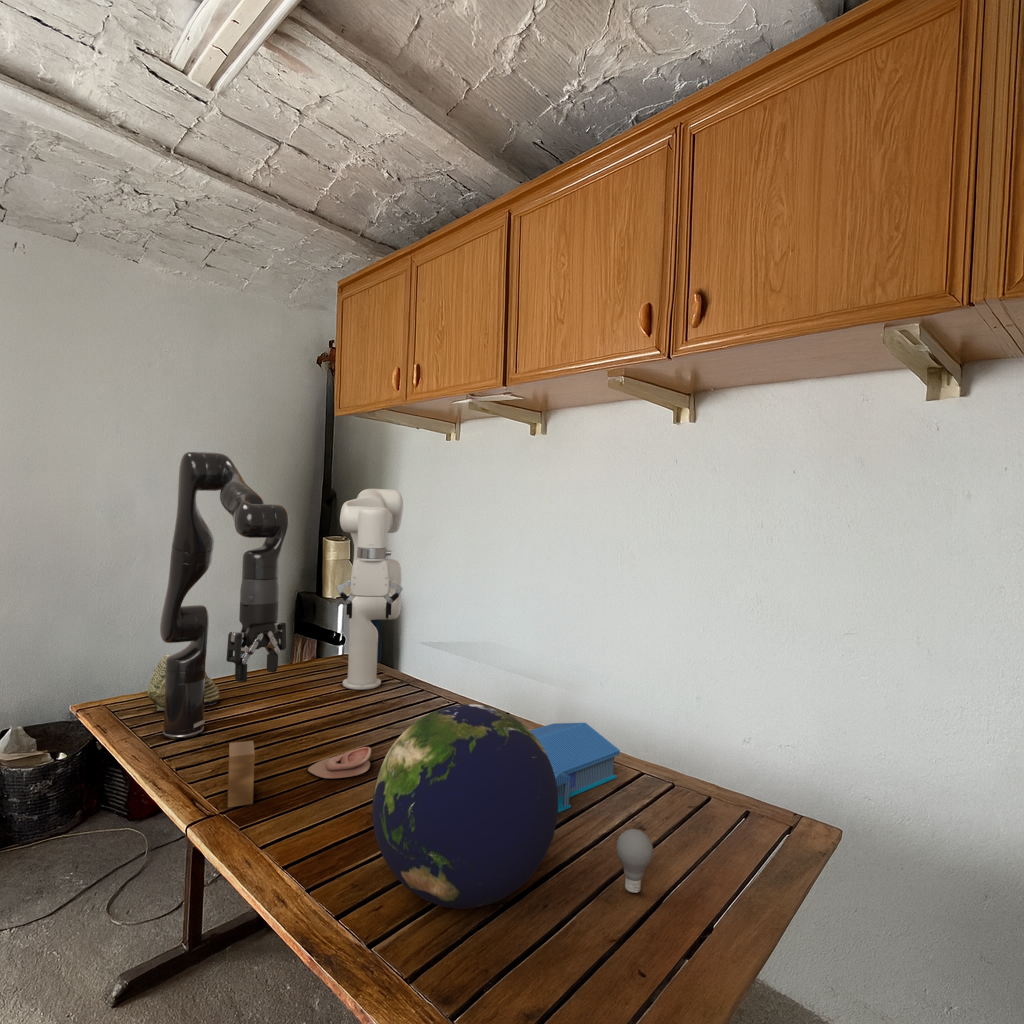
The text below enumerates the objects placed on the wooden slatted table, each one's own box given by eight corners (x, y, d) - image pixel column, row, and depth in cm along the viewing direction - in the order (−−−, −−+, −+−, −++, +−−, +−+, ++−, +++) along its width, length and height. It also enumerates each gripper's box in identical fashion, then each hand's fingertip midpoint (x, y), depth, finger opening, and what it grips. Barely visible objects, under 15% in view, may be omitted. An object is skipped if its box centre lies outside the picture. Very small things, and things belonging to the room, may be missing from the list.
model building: (501, 837, 120) (504, 785, 120) (427, 790, 139) (429, 744, 138) (628, 782, 147) (630, 739, 147) (552, 748, 165) (553, 710, 165)
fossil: (144, 707, 182) (145, 655, 182) (212, 696, 194) (213, 647, 194) (151, 716, 175) (153, 662, 175) (221, 703, 188) (223, 653, 188)
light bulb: (610, 879, 108) (613, 822, 108) (644, 879, 109) (647, 822, 109) (619, 902, 102) (622, 840, 102) (655, 901, 103) (658, 840, 103)
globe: (328, 919, 95) (336, 721, 95) (427, 827, 123) (434, 674, 122) (512, 985, 84) (522, 760, 83) (576, 867, 112) (584, 698, 111)
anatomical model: (301, 757, 143) (326, 739, 154) (300, 775, 143) (325, 755, 154) (355, 765, 140) (377, 746, 152) (355, 783, 140) (376, 762, 152)
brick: (227, 807, 127) (229, 756, 127) (227, 791, 134) (229, 743, 134) (253, 804, 129) (254, 753, 129) (251, 788, 136) (253, 740, 136)
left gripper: (270, 593, 140) (267, 666, 141) (218, 602, 127) (215, 682, 127) (297, 596, 137) (294, 671, 138) (247, 606, 124) (244, 688, 125)
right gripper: (403, 553, 175) (400, 615, 176) (338, 552, 172) (336, 614, 172) (404, 556, 168) (402, 620, 169) (337, 554, 164) (334, 620, 165)
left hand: (256, 676), depth 133 cm, fingers open, 8 cm apart
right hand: (368, 617), depth 170 cm, fingers open, 9 cm apart
